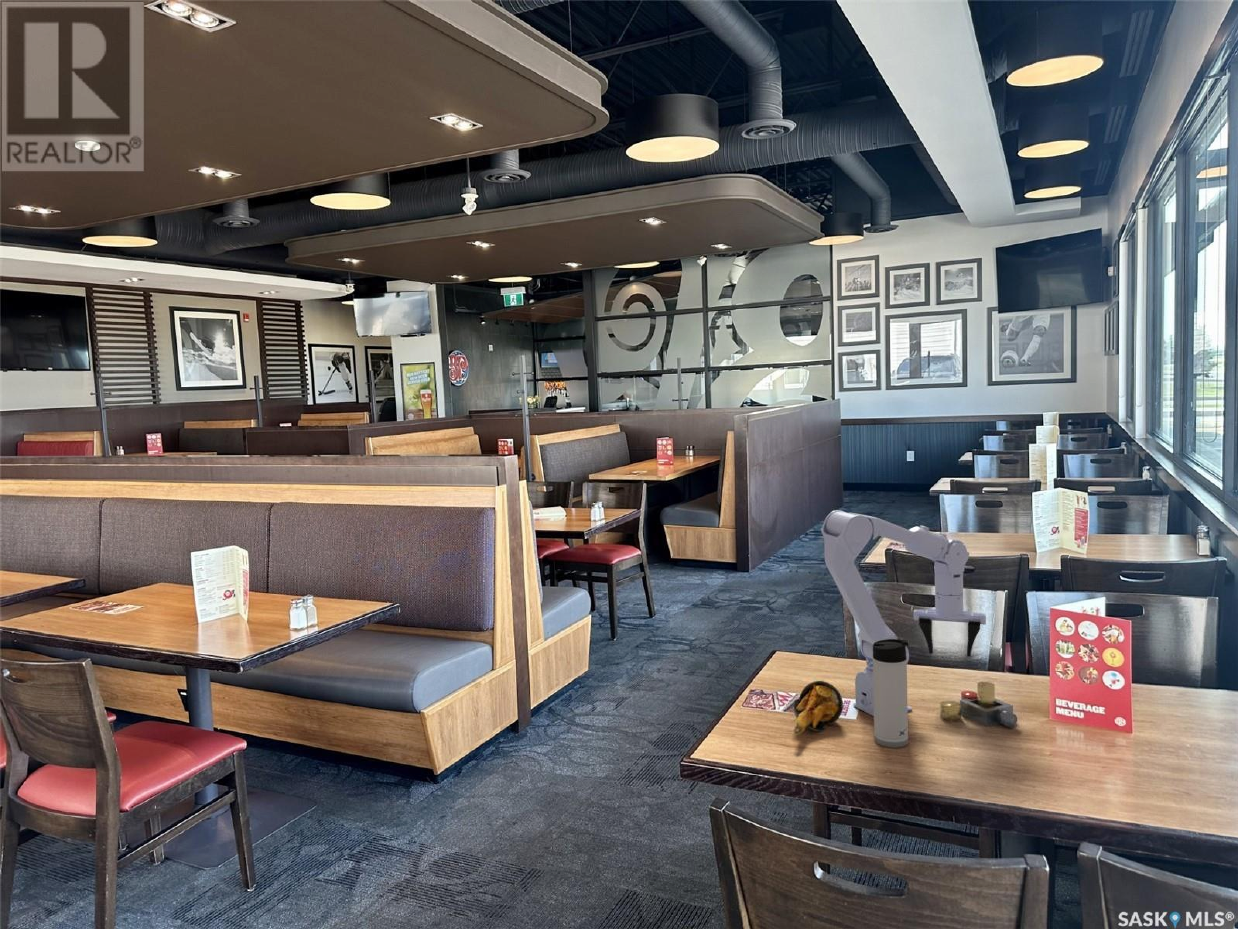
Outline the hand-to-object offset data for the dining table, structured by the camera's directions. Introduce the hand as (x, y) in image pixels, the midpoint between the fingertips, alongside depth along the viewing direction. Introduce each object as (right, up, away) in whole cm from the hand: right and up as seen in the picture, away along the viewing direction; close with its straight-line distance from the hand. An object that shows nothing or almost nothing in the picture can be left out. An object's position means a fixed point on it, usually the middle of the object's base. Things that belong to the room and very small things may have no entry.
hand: (949, 653), depth 177 cm
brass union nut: (-4, -11, -10) cm, 15 cm away
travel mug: (-19, -13, -20) cm, 30 cm away
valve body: (+3, -11, -10) cm, 15 cm away
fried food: (-33, -13, -12) cm, 37 cm away
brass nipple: (+3, -10, -11) cm, 15 cm away
